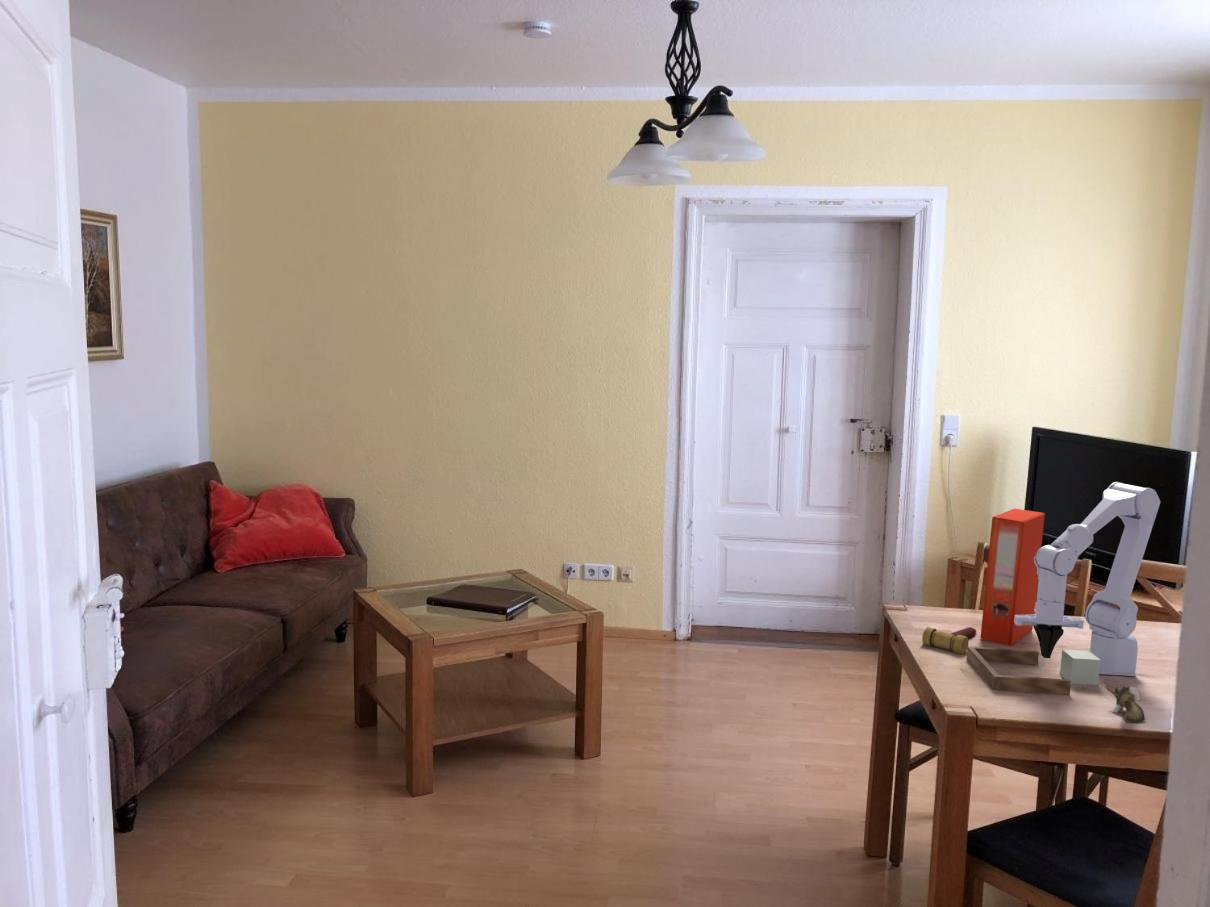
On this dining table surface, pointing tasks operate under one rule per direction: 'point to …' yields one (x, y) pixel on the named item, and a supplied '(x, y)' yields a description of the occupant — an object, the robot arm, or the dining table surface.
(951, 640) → the gavel
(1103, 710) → the dining table surface
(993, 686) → the wooden frame
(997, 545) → the file binder
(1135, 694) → the eagle figurine
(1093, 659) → the cube
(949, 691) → the dining table surface
